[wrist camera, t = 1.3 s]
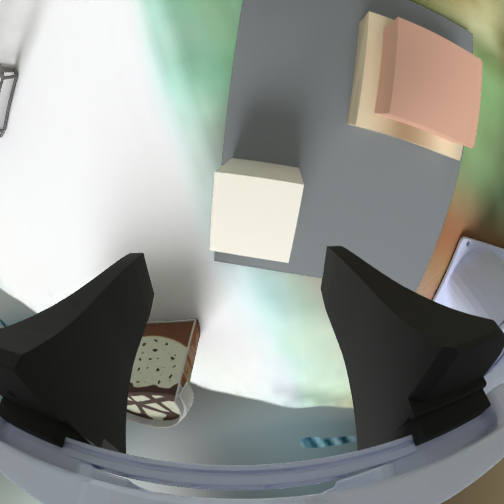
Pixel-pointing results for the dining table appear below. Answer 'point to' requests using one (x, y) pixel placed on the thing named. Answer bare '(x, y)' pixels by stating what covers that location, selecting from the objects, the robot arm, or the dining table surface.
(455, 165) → the mat
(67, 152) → the dining table surface
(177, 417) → the food container
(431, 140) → the bottom slab
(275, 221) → the top block
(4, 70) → the geometric lantern
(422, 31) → the middle block
